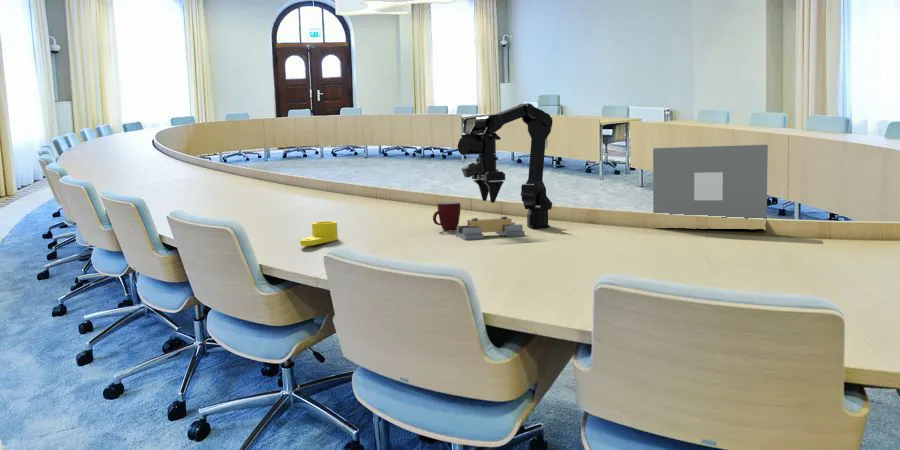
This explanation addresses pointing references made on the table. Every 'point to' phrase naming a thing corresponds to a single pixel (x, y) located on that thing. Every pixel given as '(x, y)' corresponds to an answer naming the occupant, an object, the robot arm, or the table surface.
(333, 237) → the crank
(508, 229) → the pair of grey blocks
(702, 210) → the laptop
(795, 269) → the table surface
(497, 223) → the link
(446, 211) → the mug
